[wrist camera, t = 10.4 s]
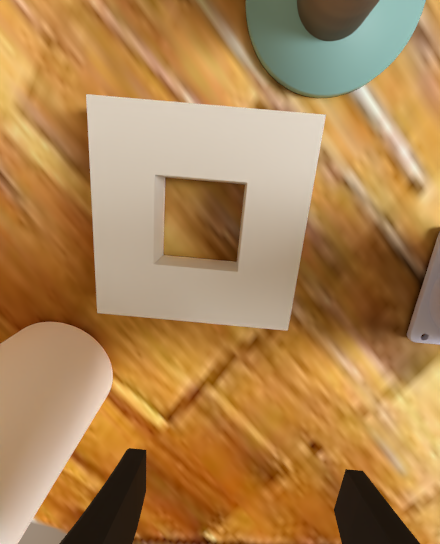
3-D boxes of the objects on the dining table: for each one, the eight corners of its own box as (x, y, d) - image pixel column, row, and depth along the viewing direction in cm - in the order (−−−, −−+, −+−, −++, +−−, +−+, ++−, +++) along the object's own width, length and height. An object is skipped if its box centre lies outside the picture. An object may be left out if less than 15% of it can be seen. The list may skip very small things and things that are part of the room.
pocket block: (310, 127, 16) (325, 114, 13) (280, 313, 19) (287, 330, 17) (108, 109, 16) (86, 94, 13) (113, 298, 19) (97, 312, 17)
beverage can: (18, 303, 19) (-285, 461, 8) (126, 335, 20) (-15, 527, 8) (9, 390, 22) (-238, 612, 10) (106, 417, 22) (-27, 658, 11)
